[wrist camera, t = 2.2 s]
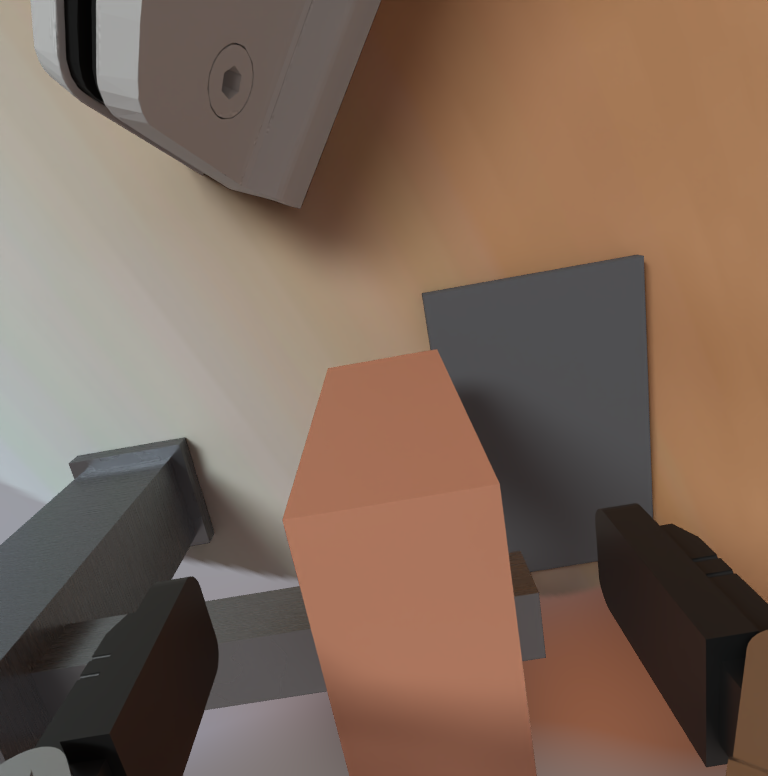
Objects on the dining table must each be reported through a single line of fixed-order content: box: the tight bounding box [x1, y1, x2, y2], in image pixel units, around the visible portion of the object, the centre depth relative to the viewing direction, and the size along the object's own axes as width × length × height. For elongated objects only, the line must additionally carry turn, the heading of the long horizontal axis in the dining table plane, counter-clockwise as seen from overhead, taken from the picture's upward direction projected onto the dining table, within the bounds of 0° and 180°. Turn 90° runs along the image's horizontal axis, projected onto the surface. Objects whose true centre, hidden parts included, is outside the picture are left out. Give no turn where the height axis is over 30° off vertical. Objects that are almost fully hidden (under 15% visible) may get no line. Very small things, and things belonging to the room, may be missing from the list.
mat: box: [422, 255, 653, 572], centre depth 25 cm, size 9×14×1 cm, turn 10°
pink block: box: [283, 349, 537, 776], centre depth 17 cm, size 4×11×10 cm, turn 10°
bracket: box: [0, 438, 546, 765], centre depth 19 cm, size 18×5×14 cm, turn 100°
